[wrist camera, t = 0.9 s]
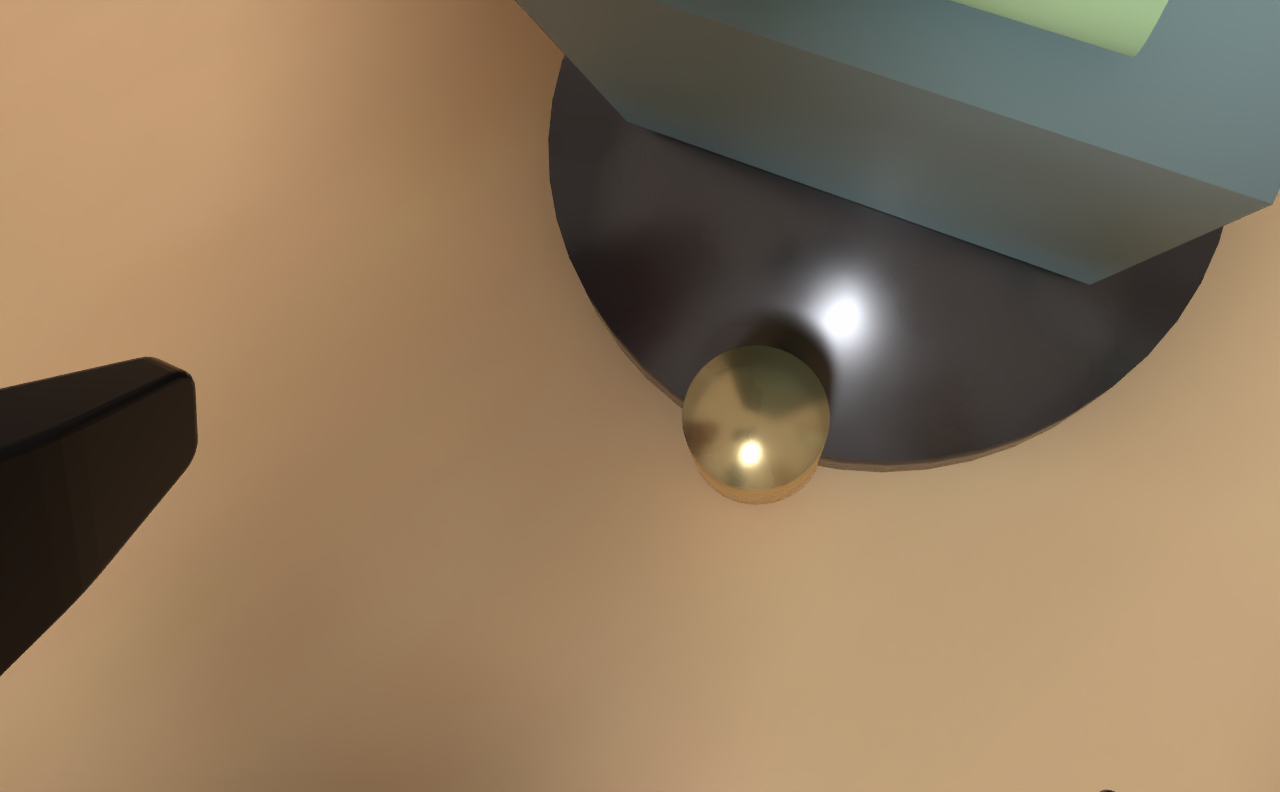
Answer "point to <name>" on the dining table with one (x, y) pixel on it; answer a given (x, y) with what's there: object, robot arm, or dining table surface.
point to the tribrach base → (830, 311)
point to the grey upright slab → (966, 108)
